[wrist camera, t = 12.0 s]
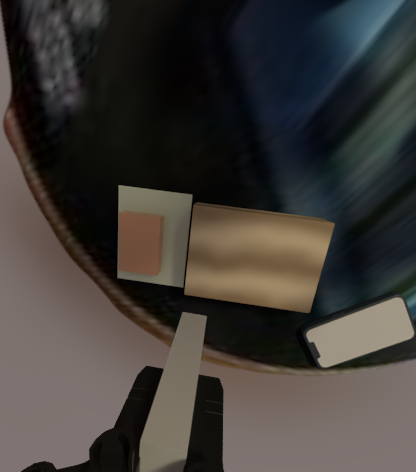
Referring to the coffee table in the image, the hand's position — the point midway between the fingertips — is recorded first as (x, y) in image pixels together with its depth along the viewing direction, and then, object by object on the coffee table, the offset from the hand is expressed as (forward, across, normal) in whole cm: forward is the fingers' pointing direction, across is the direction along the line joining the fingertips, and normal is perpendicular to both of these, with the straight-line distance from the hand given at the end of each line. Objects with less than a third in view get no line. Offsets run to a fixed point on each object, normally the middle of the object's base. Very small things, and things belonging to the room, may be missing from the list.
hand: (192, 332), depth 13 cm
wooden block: (+20, +6, -1) cm, 21 cm away
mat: (+20, -9, -1) cm, 22 cm away
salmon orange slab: (+17, -11, -1) cm, 20 cm away
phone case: (+20, +25, -11) cm, 34 cm away
